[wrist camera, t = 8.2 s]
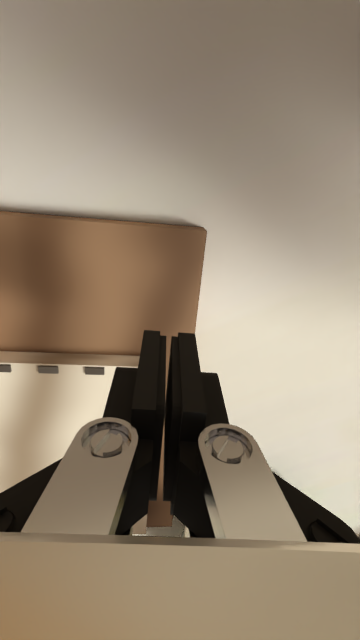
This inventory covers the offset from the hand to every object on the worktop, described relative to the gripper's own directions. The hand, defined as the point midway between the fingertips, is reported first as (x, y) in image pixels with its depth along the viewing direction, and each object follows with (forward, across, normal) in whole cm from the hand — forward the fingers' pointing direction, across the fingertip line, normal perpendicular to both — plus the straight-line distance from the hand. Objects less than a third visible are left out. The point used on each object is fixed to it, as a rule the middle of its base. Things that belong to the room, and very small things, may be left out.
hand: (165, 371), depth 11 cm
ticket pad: (+8, +7, +8) cm, 13 cm away
